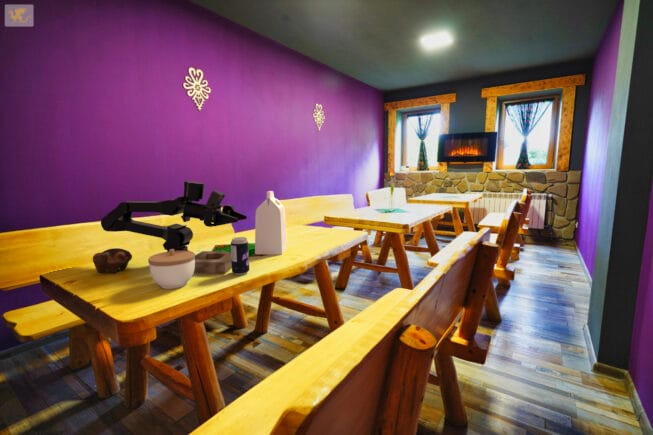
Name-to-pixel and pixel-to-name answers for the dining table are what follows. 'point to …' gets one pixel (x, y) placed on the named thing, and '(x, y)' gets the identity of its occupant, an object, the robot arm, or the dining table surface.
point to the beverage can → (240, 255)
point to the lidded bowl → (172, 268)
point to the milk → (270, 227)
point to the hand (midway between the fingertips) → (242, 218)
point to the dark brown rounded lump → (111, 260)
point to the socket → (213, 262)
